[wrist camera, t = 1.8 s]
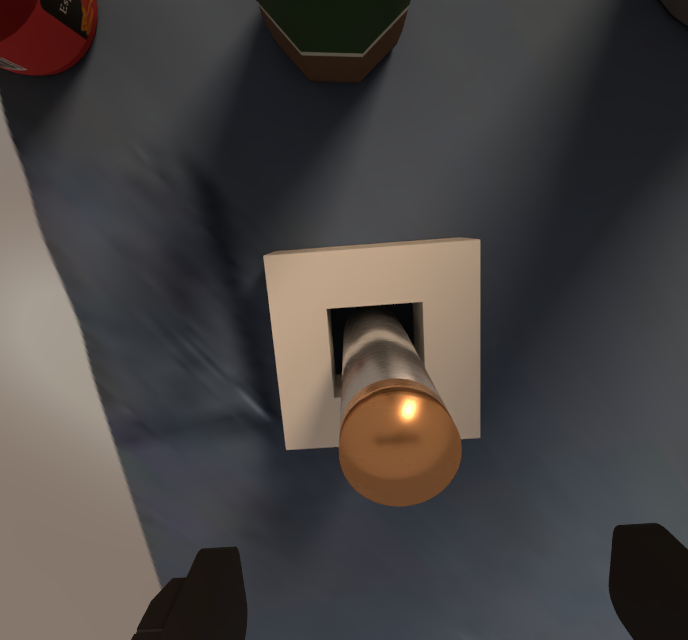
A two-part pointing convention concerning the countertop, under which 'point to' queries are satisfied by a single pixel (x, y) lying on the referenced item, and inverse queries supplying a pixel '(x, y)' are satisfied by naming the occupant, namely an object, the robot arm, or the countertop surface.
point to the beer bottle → (335, 34)
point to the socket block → (366, 290)
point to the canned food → (45, 34)
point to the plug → (392, 415)
